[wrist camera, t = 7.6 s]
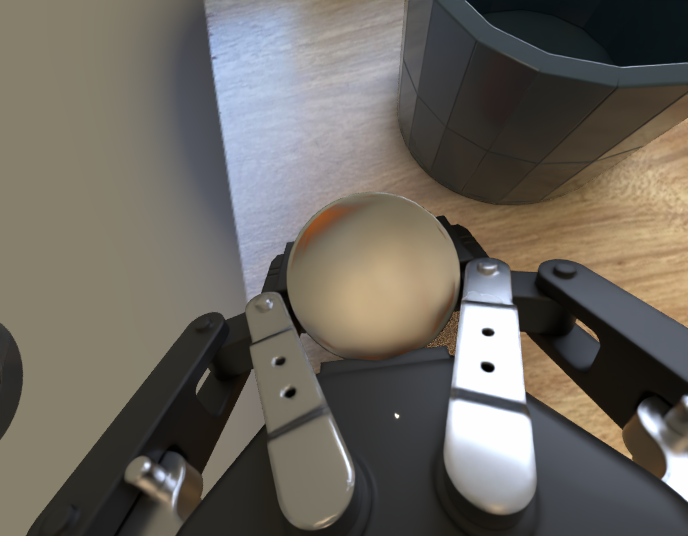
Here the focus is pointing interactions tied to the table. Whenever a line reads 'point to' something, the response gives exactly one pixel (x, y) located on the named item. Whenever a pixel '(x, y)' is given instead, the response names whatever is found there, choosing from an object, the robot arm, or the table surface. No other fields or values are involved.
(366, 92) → the table surface
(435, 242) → the orange tin
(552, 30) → the pot
